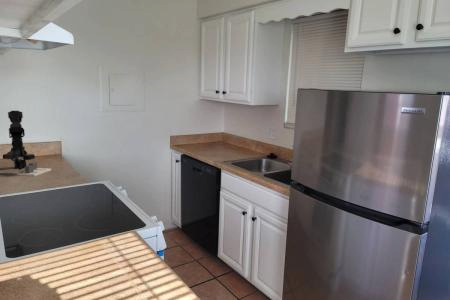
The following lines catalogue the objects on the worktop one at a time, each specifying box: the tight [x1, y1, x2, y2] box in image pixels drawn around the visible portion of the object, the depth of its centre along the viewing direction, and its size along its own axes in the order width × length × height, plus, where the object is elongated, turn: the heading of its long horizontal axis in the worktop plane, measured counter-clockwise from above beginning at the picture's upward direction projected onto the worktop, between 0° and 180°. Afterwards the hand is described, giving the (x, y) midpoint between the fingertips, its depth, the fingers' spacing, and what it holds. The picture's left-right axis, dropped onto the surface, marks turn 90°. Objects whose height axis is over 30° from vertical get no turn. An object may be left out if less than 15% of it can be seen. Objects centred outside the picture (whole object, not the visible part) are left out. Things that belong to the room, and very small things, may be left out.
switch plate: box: [16, 167, 52, 177], centre depth 216 cm, size 12×16×1 cm
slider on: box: [28, 161, 38, 169], centre depth 220 cm, size 3×4×4 cm
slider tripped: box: [24, 164, 34, 173], centre depth 212 cm, size 3×4×4 cm
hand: (20, 169), depth 213 cm, fingers closed
